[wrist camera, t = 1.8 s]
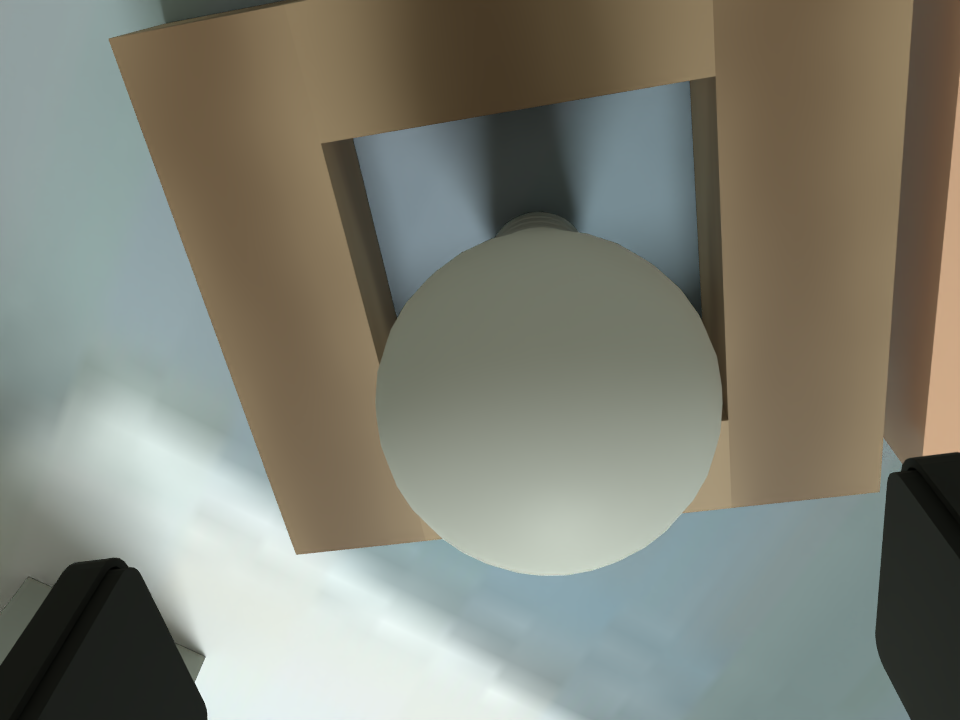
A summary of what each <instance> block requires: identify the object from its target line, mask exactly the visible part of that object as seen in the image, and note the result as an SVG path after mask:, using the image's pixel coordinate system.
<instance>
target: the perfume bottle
mask: <svg viewBox="0 0 960 720" xmlns="http://www.w3.org/2000/svg"><path fill="white" fill-rule="evenodd" d="M51 589H52V587H50V586H47V585H45V584H43V583H41V582H39V581H36V580H34V579H32V578H30V577H28V578H27V579H26V581H25V582H24V583H23V585H22V586H21V587H20V589H19V590H18V591H17V592H16V594H15V595H14V596H13V598H12V599H11V600H10V602H9V603H8V604H7V606H6V607H5V608H4V610H3V611H2V612H1V614H0V665H1V664H2V662H3V661H4V659H5V658H6V656H7V655H8V653H9V652H10V650H11V649H12V647H13V646H14V644H15V643H16V641H17V640H18V638H19V637H20V635H21V634H22V632H23V631H24V629H25V628H26V626H27V625H28V624H29V622H30V621H31V619H32V618H33V616H34V615H35V613H36V612H37V610H38V609H39V607H40V606H41V604H42V603H43V601H44V600H45V598H46V597H47V595H48V594H49V592H50V591H51ZM175 644H176V643H175ZM176 646H177V648H178V650H179V652H180V654H181V656H182V658H183V661H184V663H185V665H186V667H187V669H188V671H189V673H190V675H191V677H192V679H193V681H194V682H195V680H196V678H197V676H198V673H199V671H200V669H201V666H202V664H203V662H204V659H205V656H203V655H200V654H198V653H196V652H194V651H192V650H189V649H187V648H185V647H183V646H180V645H178V644H176Z"/></svg>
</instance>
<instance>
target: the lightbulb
mask: <svg viewBox="0 0 960 720" xmlns="http://www.w3.org/2000/svg"><path fill="white" fill-rule="evenodd" d="M375 403H376V418H377V424H378V430H379V437H380V443H381V447H382V450H383V452H384V455H385V458H386V460H387V463H388V465H389V468H390V470H391V473H392V475H393V478H394V480H395V483H396V485H397V487H398V489H399V490H400V492H401V493H402V495H403V496H404V498H405V499H406V501H407V502H408V504H409V505H410V507H411V508H412V510H413V511H414V512H415V513H416V514H417V515H419V516H420V517H421V518H422V519H423V520H424V521H425V522H426V523H427V524H428V525H429V526H430V527H431V528H432V529H433V530H434V531H435V532H436V533H437V534H438V535H439V536H440V537H441V538H442V539H444V540H445V541H447V542H448V543H450V544H451V545H452V546H454V547H455V548H457V549H458V550H460V551H461V552H463V553H465V554H467V555H469V556H471V557H473V558H476V559H478V560H480V561H482V562H484V563H486V564H489V565H492V566H496V567H499V568H503V569H506V570H510V571H513V572H517V573H523V574H532V575H540V576H554V575H570V574H576V573H582V572H587V571H592V570H595V569H598V568H601V567H604V566H607V565H610V564H613V563H615V562H618V561H620V560H622V559H624V558H626V557H628V556H630V555H632V554H634V553H636V552H637V551H639V550H641V549H643V548H645V547H646V546H647V545H649V544H650V543H651V542H653V541H654V540H655V539H657V538H658V537H659V536H660V535H662V534H663V533H664V532H666V530H667V529H668V528H669V527H670V526H671V525H672V524H673V523H674V521H675V520H676V519H677V518H678V517H679V516H680V515H681V514H682V512H683V511H684V510H685V509H686V508H687V507H688V506H689V505H690V503H691V502H692V501H693V500H694V498H695V496H696V495H697V493H698V491H699V490H700V488H701V486H702V484H703V483H704V481H705V479H706V477H707V475H708V472H709V469H710V466H711V463H712V460H713V457H714V453H715V450H716V447H717V443H718V439H719V436H720V430H721V417H722V404H723V402H722V384H721V378H720V372H719V366H718V359H717V355H716V353H715V351H714V348H713V346H712V343H711V341H710V339H709V336H708V334H707V331H706V329H705V327H704V325H703V323H702V320H701V318H700V316H699V314H698V313H697V311H696V310H695V309H694V307H693V306H692V304H691V303H690V302H689V300H688V299H687V297H686V296H685V295H684V293H683V292H682V291H681V289H680V288H679V287H678V286H676V285H675V284H674V283H673V282H672V281H671V280H670V279H669V278H668V277H666V276H665V275H664V274H663V273H662V272H661V271H660V270H659V269H657V268H656V267H655V266H654V265H652V264H651V263H649V262H648V261H646V260H645V259H643V258H641V257H640V256H638V255H636V254H635V253H633V252H631V251H629V250H628V249H626V248H624V247H622V246H621V245H619V244H617V243H614V242H611V241H608V240H605V239H602V238H599V237H596V236H593V235H590V234H586V233H579V232H578V231H577V229H576V228H575V227H574V226H573V225H572V224H571V223H570V222H569V221H567V220H566V219H564V218H562V217H560V216H558V215H555V214H552V213H546V212H531V213H527V214H523V215H520V216H518V217H516V218H514V219H512V220H511V221H509V222H508V223H507V224H505V225H504V226H503V228H502V229H501V230H500V231H499V232H498V234H497V235H496V237H495V238H493V239H490V240H488V241H485V242H483V243H481V244H479V245H477V246H475V247H473V248H470V249H468V250H466V251H464V252H462V253H460V254H459V255H458V256H456V257H455V258H454V259H452V260H451V261H450V262H448V263H447V264H445V265H444V266H443V267H441V268H440V269H439V270H437V271H436V272H435V273H434V274H433V275H432V276H431V277H429V278H428V279H427V280H426V282H425V283H424V284H423V285H422V286H421V287H420V288H419V289H418V290H417V291H416V293H415V294H414V295H413V296H412V297H411V298H410V299H409V300H408V301H407V303H406V304H405V306H404V307H403V309H402V311H401V313H400V314H399V316H398V318H397V320H396V321H395V323H394V325H393V327H392V328H391V330H390V334H389V337H388V340H387V343H386V346H385V349H384V352H383V356H382V359H381V362H380V365H379V369H378V372H377V385H376V399H375Z"/></svg>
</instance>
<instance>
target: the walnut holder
mask: <svg viewBox="0 0 960 720" xmlns="http://www.w3.org/2000/svg"><path fill="white" fill-rule="evenodd" d="M912 14H913V0H285V1H279V2H274V3H269V4H264V5H259V6H254V7H248V8H243V9H238V10H233V11H228V12H223V13H218V14H212V15H207V16H202V17H197V18H192V19H187V20H181V21H176V22H171V23H166V24H162V25H158V26H154V27H151V28H147V29H143V30H139V31H136V32H132V33H128V34H124V35H121V36H117V37H113V38H109V42H110V45H111V47H112V50H113V53H114V56H115V58H116V61H117V64H118V67H119V69H120V72H121V75H122V78H123V80H124V83H125V86H126V89H127V91H128V94H129V97H130V100H131V102H132V105H133V108H134V111H135V113H136V116H137V119H138V122H139V124H140V127H141V130H142V133H143V135H144V138H145V141H146V144H147V146H148V149H149V152H150V155H151V157H152V160H153V163H154V166H155V168H156V171H157V174H158V176H159V179H160V182H161V185H162V187H163V190H164V193H165V196H166V198H167V201H168V204H169V207H170V209H171V212H172V215H173V218H174V220H175V223H176V226H177V229H178V231H179V234H180V237H181V240H182V242H183V245H184V248H185V251H186V253H187V256H188V259H189V262H190V264H191V267H192V270H193V273H194V275H195V278H196V281H197V284H198V286H199V289H200V292H201V295H202V297H203V300H204V303H205V306H206V308H207V311H208V314H209V317H210V319H211V322H212V325H213V328H214V330H215V333H216V336H217V338H218V341H219V344H220V347H221V349H222V352H223V355H224V358H225V360H226V363H227V366H228V369H229V371H230V374H231V377H232V380H233V382H234V385H235V388H236V391H237V393H238V396H239V399H240V402H241V404H242V407H243V410H244V413H245V415H246V418H247V421H248V424H249V426H250V429H251V432H252V435H253V437H254V440H255V443H256V446H257V448H258V451H259V454H260V457H261V459H262V462H263V465H264V468H265V470H266V473H267V476H268V479H269V481H270V484H271V487H272V490H273V492H274V495H275V498H276V501H277V503H278V506H279V509H280V511H281V514H282V517H283V520H284V522H285V525H286V528H287V531H288V533H289V536H290V539H291V542H292V544H293V547H294V550H295V553H296V555H298V554H307V553H317V552H326V551H335V550H345V549H354V548H363V547H372V546H382V545H391V544H400V543H410V542H419V541H428V540H438V539H442V538H441V537H440V536H439V535H438V534H437V533H436V532H435V531H434V530H433V529H432V528H431V527H430V526H429V525H428V524H427V523H426V522H425V521H424V520H423V519H422V518H421V517H420V516H419V515H417V514H416V513H415V512H414V511H413V510H412V508H411V507H410V505H409V504H408V502H407V501H406V499H405V498H404V496H403V495H402V493H401V492H400V490H399V489H398V487H397V485H396V483H395V480H394V478H393V475H392V473H391V470H390V468H389V465H388V463H387V460H386V458H385V455H384V452H383V450H382V447H381V443H380V437H379V430H378V424H377V418H376V403H375V399H376V385H377V372H378V369H379V365H380V362H381V359H382V356H383V352H384V349H385V346H386V343H387V340H388V337H389V334H390V330H391V328H392V327H393V325H394V323H395V321H396V320H397V317H396V313H395V309H394V305H393V301H392V297H391V293H390V289H389V284H388V280H387V276H386V272H385V268H384V264H383V260H382V256H381V252H380V248H379V244H378V240H377V236H376V232H375V227H374V223H373V219H372V215H371V211H370V207H369V203H368V199H367V195H366V191H365V187H364V183H363V179H362V175H361V170H360V166H359V162H358V158H357V154H356V150H355V146H354V142H353V138H356V137H362V136H368V135H374V134H380V133H385V132H391V131H397V130H403V129H409V128H415V127H421V126H426V125H432V124H438V123H444V122H450V121H456V120H462V119H467V118H473V117H479V116H485V115H491V114H497V113H503V112H508V111H514V110H520V109H526V108H532V107H538V106H544V105H549V104H555V103H561V102H567V101H573V100H579V99H585V98H590V97H596V96H602V95H608V94H614V93H620V92H626V91H631V90H637V89H643V88H649V87H655V86H661V85H667V84H672V83H678V82H684V81H690V94H691V113H692V133H693V152H694V172H695V191H696V211H697V230H698V249H699V269H700V288H701V308H702V323H703V325H704V327H705V329H706V331H707V334H708V336H709V339H710V341H711V343H712V346H713V348H714V351H715V353H716V355H717V359H718V366H719V372H720V378H721V384H722V402H723V404H722V417H721V430H720V436H719V439H718V443H717V447H716V450H715V453H714V457H713V460H712V463H711V466H710V469H709V472H708V475H707V477H706V479H705V481H704V483H703V484H702V486H701V488H700V490H699V491H698V493H697V495H696V496H695V498H694V500H693V501H692V502H691V503H690V505H689V506H688V507H687V508H686V509H685V510H684V511H683V512H682V513H689V512H698V511H708V510H717V509H726V508H735V507H745V506H754V505H763V504H773V503H782V502H791V501H801V500H810V499H819V498H828V497H838V496H847V495H856V494H866V493H875V492H880V478H881V463H882V449H883V434H884V420H885V405H886V391H887V376H888V362H889V347H890V333H891V318H892V304H893V289H894V275H895V260H896V246H897V231H898V217H899V202H900V188H901V173H902V159H903V144H904V130H905V115H906V101H907V86H908V72H909V57H910V43H911V28H912Z"/></svg>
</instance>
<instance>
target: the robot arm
mask: <svg viewBox="0 0 960 720" xmlns="http://www.w3.org/2000/svg"><path fill="white" fill-rule="evenodd" d="M875 637H876V645H877V649H878V653H879V656H880V659H881V662H882V664H883V666H884V669H885V671H886V672H887V674H888V676H889V678H890V680H891V682H892V684H893V686H894V688H895V690H896V692H897V694H898V696H899V697H900V699H901V701H902V703H903V705H904V707H905V709H906V711H907V713H908V715H909V717H910V719H911V720H960V453H959V452H952V453H944V454H936V455H928V456H920V457H912V458H908V459H906V460H905V461H904V463H903V465H902V469H901V472H893V473H891V474H890V475H889V477H888V481H887V491H886V504H885V517H884V529H883V542H882V555H881V567H880V580H879V593H878V606H877V618H876V631H875ZM0 720H207V709H206V706H205V703H204V701H203V699H202V697H201V695H200V693H199V691H198V689H197V687H196V685H195V683H194V681H193V679H192V677H191V675H190V673H189V671H188V669H187V667H186V665H185V663H184V661H183V658H182V656H181V654H180V652H179V650H178V648H177V646H176V644H175V642H174V640H173V638H172V636H171V634H170V632H169V630H168V628H167V626H166V624H165V622H164V620H163V618H162V616H161V614H160V612H159V610H158V608H157V606H156V604H155V602H154V600H153V598H152V596H151V594H150V592H149V590H148V588H147V586H146V584H145V582H144V580H143V578H142V576H141V574H140V573H139V571H138V570H137V569H135V568H132V567H128V566H127V564H126V563H125V562H124V561H123V560H121V559H120V558H109V559H101V560H93V561H85V562H77V563H73V564H71V565H69V566H68V567H67V568H66V569H65V570H64V572H63V573H62V574H61V576H60V577H59V579H58V580H57V582H56V583H55V585H54V586H53V588H52V589H51V591H50V592H49V594H48V595H47V597H46V598H45V600H44V601H43V603H42V604H41V606H40V607H39V609H38V610H37V612H36V613H35V615H34V616H33V618H32V619H31V621H30V622H29V624H28V625H27V626H26V628H25V629H24V631H23V632H22V634H21V635H20V637H19V638H18V640H17V641H16V643H15V644H14V646H13V647H12V649H11V650H10V652H9V653H8V655H7V656H6V658H5V659H4V661H3V662H2V664H1V665H0Z"/></svg>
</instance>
